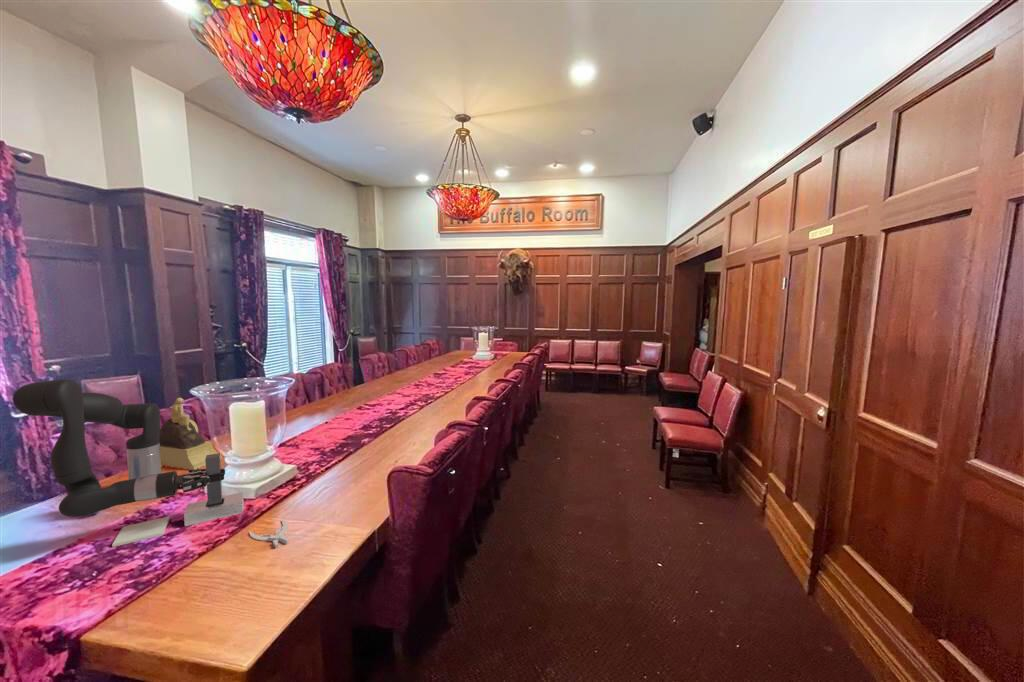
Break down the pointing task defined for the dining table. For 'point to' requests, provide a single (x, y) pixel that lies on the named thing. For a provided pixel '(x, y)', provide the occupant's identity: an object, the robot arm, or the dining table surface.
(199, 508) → the grey slotted block
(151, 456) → the robot arm
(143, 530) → the sage pad
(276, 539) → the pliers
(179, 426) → the seated figure statue
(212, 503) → the steel peg
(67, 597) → the dining table surface
